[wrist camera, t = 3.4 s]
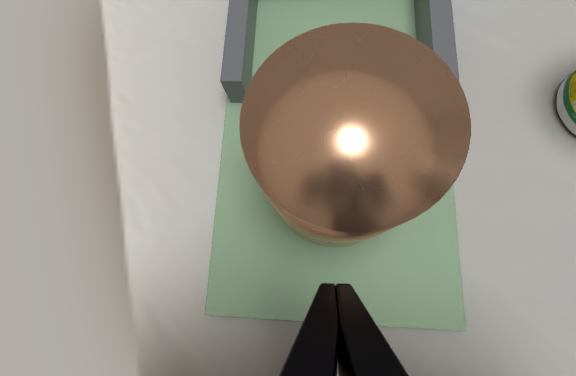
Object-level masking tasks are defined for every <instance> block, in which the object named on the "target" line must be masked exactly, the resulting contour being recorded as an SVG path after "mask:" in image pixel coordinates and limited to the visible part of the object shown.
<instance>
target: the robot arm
mask: <svg viewBox="0 0 576 376" xmlns="http://www.w3.org/2000/svg"><path fill="white" fill-rule="evenodd" d="M337 362H338V372H339V376H409V375H408V374H407V372H406V371H405V369H404V367H403V366H402V364H401V363H400V361H399V359H398V358H397V356H396V355H395V353H394V352H393V350H392V348H391V347H390V345H389V344H388V342H387V341H386V339H385V337H384V336H383V334H382V333H381V331H380V329H379V328H378V326H377V325H376V323H375V322H374V320H373V318H372V317H371V315H370V314H369V312H368V310H367V309H366V307H365V306H364V304H363V303H362V301H361V299H360V298H359V296H358V295H357V293H356V292H355V290H354V288H353V287H352V285H351V284H348V283H338V284H336V286H335V284H334V283H321V284H320V285H319V288H318V290H317V292H316V294H315V297H314V299H313V301H312V303H311V305H310V308H309V310H308V312H307V314H306V317H305V319H304V321H303V323H302V326H301V328H300V330H299V332H298V335H297V337H296V339H295V341H294V344H293V346H292V348H291V350H290V353H289V355H288V357H287V359H286V362H285V364H284V366H283V368H282V371H281V373H280V375H279V376H337Z"/></svg>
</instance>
